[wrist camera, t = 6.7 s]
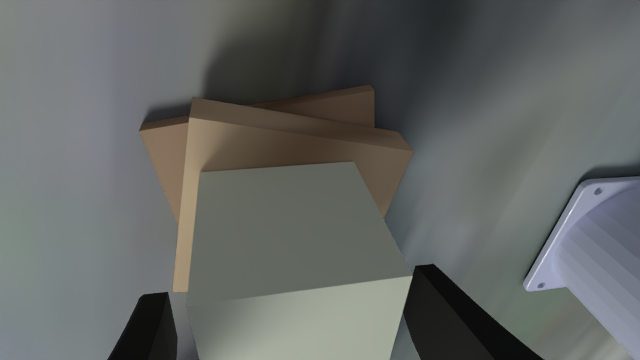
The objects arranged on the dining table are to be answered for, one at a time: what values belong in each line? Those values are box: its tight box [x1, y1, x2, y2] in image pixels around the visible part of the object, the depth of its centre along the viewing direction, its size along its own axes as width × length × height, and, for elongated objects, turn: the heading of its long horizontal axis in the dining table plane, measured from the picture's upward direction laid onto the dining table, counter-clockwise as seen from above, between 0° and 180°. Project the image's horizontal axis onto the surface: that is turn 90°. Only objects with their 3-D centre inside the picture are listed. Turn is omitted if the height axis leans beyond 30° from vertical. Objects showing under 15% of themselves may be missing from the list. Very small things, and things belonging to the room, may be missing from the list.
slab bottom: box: [139, 85, 375, 226], centre depth 16 cm, size 8×8×2 cm
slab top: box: [173, 97, 414, 292], centre depth 14 cm, size 7×7×2 cm
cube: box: [186, 161, 413, 360], centre depth 12 cm, size 5×5×5 cm
